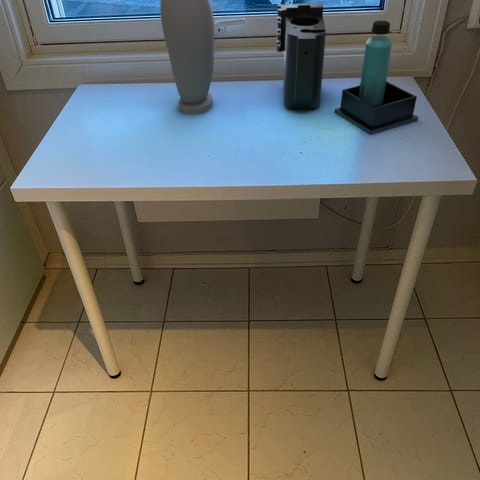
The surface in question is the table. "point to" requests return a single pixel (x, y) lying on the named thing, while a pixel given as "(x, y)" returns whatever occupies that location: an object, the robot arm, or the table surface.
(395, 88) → the square planter
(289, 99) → the black machined bracket
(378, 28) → the beverage bottle
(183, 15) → the vase
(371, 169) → the table surface
